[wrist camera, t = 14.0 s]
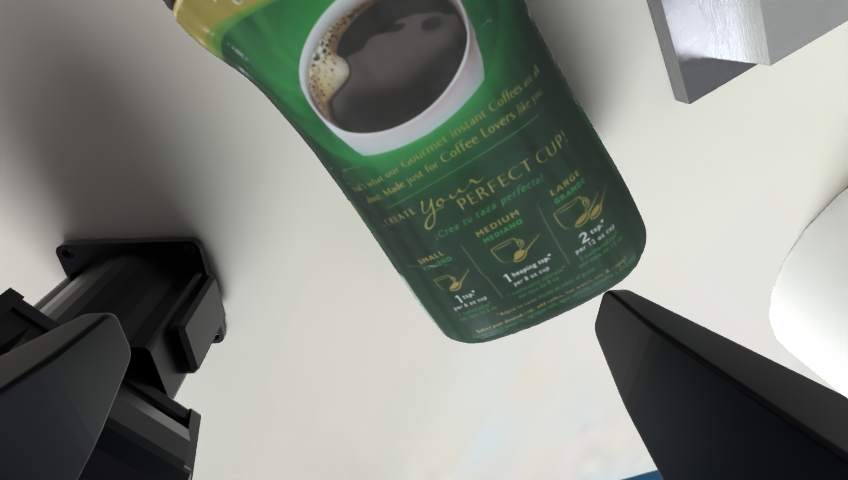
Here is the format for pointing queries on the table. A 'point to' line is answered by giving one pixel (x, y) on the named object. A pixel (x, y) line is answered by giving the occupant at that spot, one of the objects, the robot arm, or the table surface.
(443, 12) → the coffee jar
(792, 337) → the stepped white column
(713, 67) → the socket stand
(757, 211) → the table surface
